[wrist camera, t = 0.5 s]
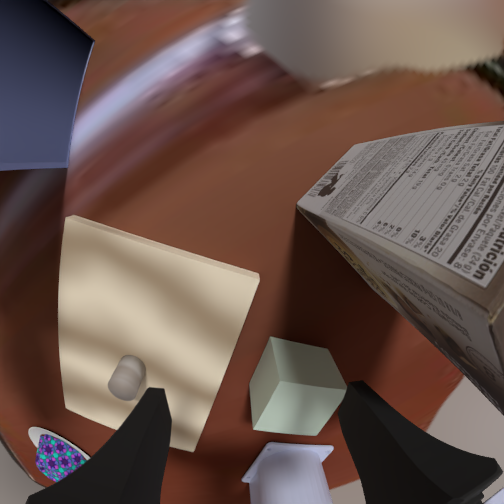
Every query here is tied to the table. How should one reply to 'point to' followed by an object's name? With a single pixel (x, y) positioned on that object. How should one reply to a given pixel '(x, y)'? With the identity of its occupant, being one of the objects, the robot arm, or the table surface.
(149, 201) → the table surface
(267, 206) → the table surface
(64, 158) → the vase
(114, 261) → the board
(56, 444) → the purple patterned hat
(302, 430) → the pale green cube
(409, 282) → the coffee box
